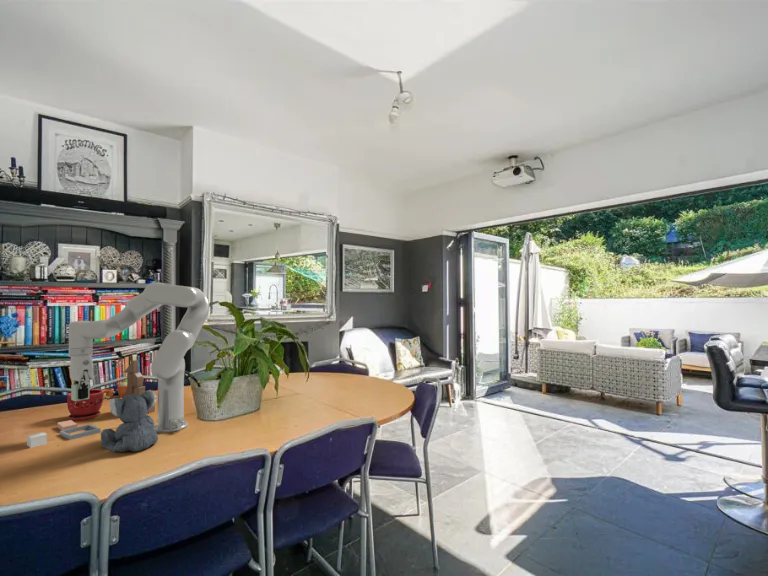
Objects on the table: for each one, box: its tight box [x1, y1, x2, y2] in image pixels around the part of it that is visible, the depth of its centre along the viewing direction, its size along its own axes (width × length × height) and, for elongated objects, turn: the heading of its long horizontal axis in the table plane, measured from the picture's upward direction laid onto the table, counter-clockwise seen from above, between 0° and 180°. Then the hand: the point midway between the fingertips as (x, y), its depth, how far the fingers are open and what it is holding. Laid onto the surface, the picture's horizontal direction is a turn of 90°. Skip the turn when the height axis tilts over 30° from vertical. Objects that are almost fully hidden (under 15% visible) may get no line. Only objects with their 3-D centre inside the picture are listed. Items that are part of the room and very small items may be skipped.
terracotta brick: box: [56, 419, 78, 431], centre depth 158 cm, size 9×4×3 cm, turn 52°
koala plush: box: [100, 389, 159, 453], centre depth 140 cm, size 17×18×20 cm
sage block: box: [70, 383, 91, 401], centre depth 152 cm, size 4×4×6 cm
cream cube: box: [26, 431, 48, 449], centre depth 140 cm, size 4×4×4 cm
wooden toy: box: [121, 359, 156, 415], centre depth 182 cm, size 16×7×25 cm, turn 71°
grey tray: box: [59, 423, 101, 441], centre depth 152 cm, size 10×10×2 cm
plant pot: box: [66, 389, 104, 422], centre depth 174 cm, size 13×13×12 cm
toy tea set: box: [97, 379, 127, 401], centre depth 210 cm, size 26×16×10 cm, turn 135°
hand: (80, 397), depth 152 cm, fingers closed on sage block, 4 cm apart
